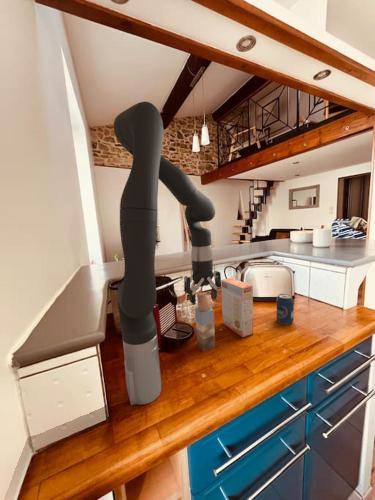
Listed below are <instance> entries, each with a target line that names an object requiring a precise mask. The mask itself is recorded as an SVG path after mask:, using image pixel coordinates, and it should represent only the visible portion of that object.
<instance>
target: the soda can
mask: <svg viewBox="0 0 375 500" xmlns="http://www.w3.org/2000/svg"><path fill="white" fill-rule="evenodd" d="M294 306H295V301H294V299H293V296H292V295H291V294H288V293H279V294H278V295H277V297H276V320H277V321H278V323H279V324H282V325H291V324H292V323H294V318H295V317H294V312H295V311H294V310H295V309H294V308H295V307H294Z"/></svg>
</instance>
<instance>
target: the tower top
mask: <svg viewBox="0 0 375 500" xmlns="http://www.w3.org/2000/svg"><path fill="white" fill-rule="evenodd" d="M194 310H195V322H196V321H197V322H198V323H199V324H200V325H201V326H205V325H208V324H211V323H214V324H215V312H214V311H215V310H214V308H212V307H210V310H209V311H206V312H202V311H199V310H198V307H195V309H194Z"/></svg>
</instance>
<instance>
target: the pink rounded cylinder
mask: <svg viewBox="0 0 375 500" xmlns="http://www.w3.org/2000/svg"><path fill="white" fill-rule="evenodd" d="M196 297H197V298H196V299H197V308H198V310H199V311H202V312H206V311H209V310H210V308H211V293H208V292H199V293H197V295H196Z"/></svg>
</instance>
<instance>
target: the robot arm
mask: <svg viewBox="0 0 375 500" xmlns="http://www.w3.org/2000/svg"><path fill="white" fill-rule="evenodd" d="M113 132H114V135H115V137H116V139H117V141H118V143H119V144H120V146H122V147H123V148H124V149H125V150H126V152H128V153H129V154H130V155H132V163H131V168H130V172H129V174H128V177H127V181H126V182H125V185H124V187H123V190H122V194H121V196H120V202H119V233H120V240H121V242H120V243H121V248H122V253H123V260H124V271H123V281H121V283H120V284H119V286H118V288H117V292H116V297H117V298H116V300H117V307H118V316H119V324H120V330H121V335H122V345H123V353H124V360H123V362H124V363H123V364H124V374H125V381H126V383H125V384H126V390H127V391H126V392H127V393H128V398H129V402H130V406H134V405H147V404H150V403H152V402H153V401H155V400H156V399H157V398H158V397H159V396H160V394H161V393H162V378H161V367H160V354H159V353H160V352H159V343H158V330H157V329H158V328H157V323H156V320H155V318H154V317H155V316H154V309H155V306H156V303H157V286H156V285H157V284H156V271H155V270H156V269H155V267H156V266H155V263H156V262H155V261H156V260H155V259H156V247H157V246H156V245H157V229H158V210H159V209H158V195H159V181H160V182H161V183H162V184H163V185H164V186H165V188H167V189H168V191H169V192H170V193H171V194H172V196H174V198H175V199H176V200H177V201H178V203H179V204H180V205H182V206H184V207H185V209H184V218H185V220H186V224H187V227H188V229H189V233H190V240H191V241H190V242H191V248H190V249H191V252H190V258H191V271H192V275H191V276H188V275H185V276H184V278H183V283H184V285H183V287H184V288H183V291H184V293H186V294H187V295H189V302H190V303H191V304H192V305H193V306H195V305H197V304H196V303H197V302H196V299H197V298H196V292H197V291H198V290H199V289H200V288H201V287H206V286H209V287H210V299H212V300H214V301H215V300H217V297H218V295H217V294H218V292H217V291H218V289H219V288H222V283H221V280H222V277H221V276H222V275H221V272H220V271H217V270H214V271H213V269H214V263H213V261H214V260H213V249H212V233H211V230H210V229H207V228H204V227H203V226H202V225H201V224H202V223H205V222H210V221H212V220H213V219H214V218H215V215H216V208H215V205H214V203H213V202H212V200H211V199H210V198H209V197H208V196H206V195H205V194H204V193H203V192H202V191H200V190H198V189H197V187H196V186H195V185H194V183H193V182H192V180H191V179H190V178H189V176H188V175H187V173H186V172H185V171H184V170H182V169H181V168H180V167H179V166H177V165H175V164H174V163H172V161H170V160H168V159H167V158H165V157H164V156H163V154H162V147H163V142H164V123H163V118H162V116H161V112H160V111H159V109H158V108H157V106H155V105H154V104H153V103H152V102H150V101H140V102H137V103H135V104H133V105H132V106H131V105H130V107H128V108H126V109H125V110H123V111H121V112H120V113H119V114H118V115H117V116H116V117H115V119H114V121H113ZM201 222H202V223H201ZM213 278H214V280H213ZM192 281H193V282H192Z"/></svg>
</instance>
